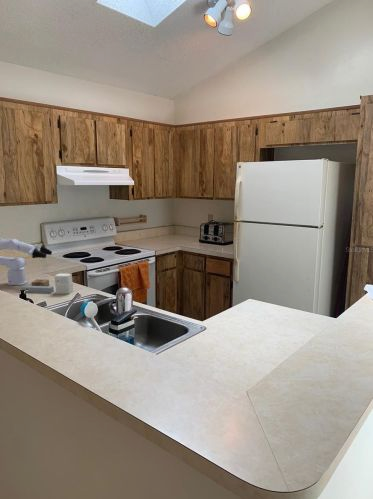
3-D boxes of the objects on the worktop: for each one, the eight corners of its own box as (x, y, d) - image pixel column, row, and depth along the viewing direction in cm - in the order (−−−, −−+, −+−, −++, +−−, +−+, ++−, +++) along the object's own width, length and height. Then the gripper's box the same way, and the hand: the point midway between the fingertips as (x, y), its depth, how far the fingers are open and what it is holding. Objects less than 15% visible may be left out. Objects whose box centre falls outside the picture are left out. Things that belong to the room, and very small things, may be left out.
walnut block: (31, 288, 224) (31, 282, 224) (36, 285, 230) (36, 279, 229) (44, 289, 224) (44, 282, 223) (49, 286, 229) (48, 279, 229)
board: (21, 292, 217) (20, 287, 216) (24, 290, 220) (23, 285, 219) (51, 293, 215) (50, 288, 214) (53, 291, 218) (53, 286, 217)
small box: (73, 291, 218) (72, 273, 216) (69, 294, 213) (68, 275, 211) (60, 290, 219) (58, 273, 217) (55, 293, 214) (54, 275, 211)
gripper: (22, 244, 222) (44, 251, 221) (34, 239, 236) (55, 245, 235) (20, 256, 223) (42, 262, 223) (32, 250, 237) (53, 256, 237)
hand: (48, 254), depth 229 cm, fingers open, 7 cm apart
